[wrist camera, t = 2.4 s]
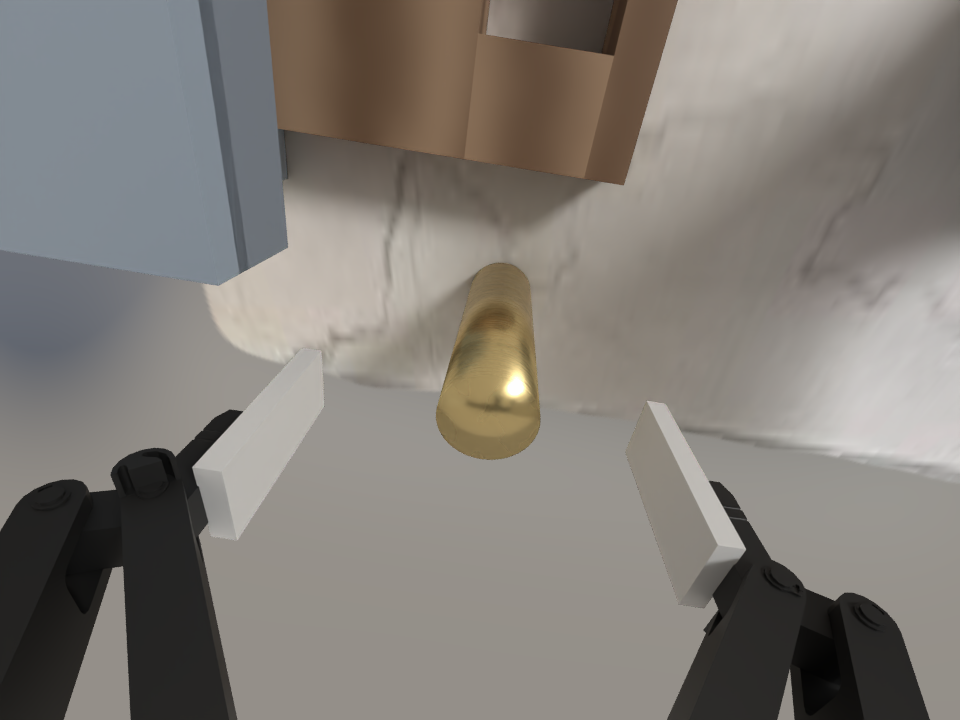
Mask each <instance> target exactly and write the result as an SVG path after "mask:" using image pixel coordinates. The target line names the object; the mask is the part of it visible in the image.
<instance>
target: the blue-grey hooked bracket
mask: <svg viewBox="0 0 960 720" xmlns="http://www.w3.org/2000/svg"><path fill="white" fill-rule="evenodd" d="M285 179H288V176H287V164H286V151H285V139H284V130H283V129H278V127H277V115H276V104H275V92H274V81H273V70H272V58H271V47H270V35H269V24H268V12H267V1H266V0H0V250H2V251H8V252H14V253H21V254H27V255H33V256H39V257H45V258H51V259H58V260H64V261H70V262H76V263H82V264H88V265H94V266H101V267H107V268H113V269H120V270H125V271H132V272H137V273H144V274H151V275H156V276H162V277H168V278H175V279H181V280H187V281H193V282H199V283H205V284H211V285H217V286H219V285H220V284H222V283H224V282H226V281H228V280H230V279H231V278H233V277H235V276H237V275H239V274H240V273H242V272H244V271H246V270H248V269H250V268H251V267H253V266H255V265H257V264H259V263H261V262H262V261H264V260H266V259H268V258H270V257H272V256H273V255H275V254H277V253H279V252H281V251H282V250H284V249H286V248H288V241H287V230H286V218H285V207H284V195H283V184H282V180H285Z"/></svg>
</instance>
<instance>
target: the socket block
mask: <svg viewBox="0 0 960 720" xmlns="http://www.w3.org/2000/svg"><path fill="white" fill-rule="evenodd" d="M266 1H267V12H268V24H269V35H270V47H271V58H272V70H273V81H274V92H275V104H276V115H277V127H278V129H283V130H289V131H295V132H301V133H308V134H314V135H320V136H326V137H332V138H338V139H344V140H350V141H356V142H363V143H369V144H375V145H381V146H387V147H393V148H399V149H405V150H411V151H417V152H424V153H430V154H436V155H442V156H448V157H454V158H460V159H466V160H472V161H479V162H485V163H491V164H497V165H503V166H509V167H515V168H521V169H527V170H533V171H540V172H546V173H552V174H558V175H564V176H570V177H576V178H582V179H588V180H595V181H601V182H607V183H613V184H619V185H624V183H625V179H626V176H627V173H628V169H629V166H630V162H631V159H632V155H633V152H634V149H635V145H636V142H637V138H638V135H639V131H640V128H641V125H642V121H643V118H644V114H645V111H646V107H647V104H648V101H649V97H650V94H651V90H652V87H653V84H654V80H655V77H656V73H657V70H658V66H659V63H660V60H661V56H662V53H663V49H664V46H665V42H666V39H667V36H668V32H669V29H670V25H671V22H672V19H673V15H674V12H675V8H676V5H677V1H678V0H614V3H613V7H612V12H611V16H610V20H609V24H608V29H607V33H606V37H605V42H604V46H603V50H602V54H600V53H594V52H588V51H582V50H576V49H570V48H563V47H557V46H551V45H545V44H539V43H533V42H527V41H521V40H515V39H509V38H503V37H497V36H491V35H486V30H487V21H488V13H489V5H490V0H266Z"/></svg>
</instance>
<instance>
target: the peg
mask: <svg viewBox="0 0 960 720" xmlns="http://www.w3.org/2000/svg"><path fill="white" fill-rule="evenodd" d="M436 421H437V425H438V428H439V431H440V432H441V435H442V436H443V437H444V439H445V440H446V441H447V442H448V443H449V444H450V445H451V446H452V447H453V448H455V449H456V450H458V451H459V452H462V453H463V454H466V455H468V456H471V457H474V458H479V459H487V460H493V459H494V460H495V459H502V458H507V457H510V456H513V455H515V454H518V453H519V452H521V451H523V450H524V449H525V448H527V447H528V446H529V445H530V444H531V443H532V442H533V440H534V439H535V437H536V435H537V433H538V430H539V428H540V406H539V394H538V381H537V368H536V355H535V342H534V330H533V317H532V304H531V291H530V284H529V281H528V279H527V277H526V276H525V274H524V273H523V272H522V271H521V270H520V269H518V268H517V267H515V266H513V265H511V264H507V263H494V264H490V265H488V266H486V267H484V268H483V269H481V270H480V271H479V272H478V273H477V274H476V276H475V277H474V279H473V282H472V285H471V288H470V292H469V296H468V299H467V303H466V306H465V310H464V313H463V317H462V320H461V324H460V327H459V331H458V335H457V338H456V342H455V345H454V349H453V352H452V356H451V359H450V363H449V367H448V370H447V374H446V377H445V381H444V384H443V388H442V391H441V395H440V399H439V402H438V406H437V410H436Z"/></svg>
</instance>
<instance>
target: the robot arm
mask: <svg viewBox="0 0 960 720" xmlns="http://www.w3.org/2000/svg"><path fill="white" fill-rule="evenodd" d="M323 390H324V389H323V371H322V352H321V351H320V350H314V349H307V348H301V350H300V351H299V352H298V353H297V354H296V355H295V356H294V357H293V358H292V359H291V360H290V362H289V363H288V364H287V365H286V366H285V367H284V368H283V369H282V370H281V371H280V372H279V373H278V375H277V376H276V377H275V378H274V379H273V380H272V381H271V382H270V383H269V385H268V386H267V387H266V388H265V389H264V390H263V391H262V392H261V393H260V394H259V395H258V397H256V398H255V400H254V401H253V402H252V403H251V404H250V405H249V406H248V407H247V408H246V409H245V411H244V412H243V411H237V410H228V411H226V412H225V413H223V414H221V415H219V416H217V417H215V418H214V419H213V420H212V421H211V422H210V423H209V424H208V425H207V426H206V427H205V428H204V430H203V431H201V432H200V433H199V434H198V435H197V436H196V437H195V439H194V440H192V441H191V442H190V443H189V444H188V445H187V446H186V447H185V448H184V449H183V450H182V451H181V452H180V453H179V454H178V455H177V456H176V457H175V456H174V454H173V453H172V452H171V451H169V450H166V449H161V448H151V449H145V450H141V451H138V452H135V453H133V454H130V455H128V456H127V457H125V458H123V459H122V460H120V461H119V462H118V463H117V464H116V465H115V466H114V467H113V469H112V472H111V478H112V480H113V482H114V485H115V487H116V490H110V491H99V492H89V490H88V488H87V486H86V485H85V484H84V483H83V482H81V481H78V480H74V479H73V480H60V481H56V482H52V483H48V484H46V485H43V486H41V487H39V488H37V489H34V490H33V491H31V492H30V493H28V494H27V495H25V496H24V497H23V498H22V499H21V500H20V501H19V502H18V503H17V505H16V506H15V508H14V509H13V511H12V513H11V515H10V516H9V518H8V519H7V521H6V523H5V524H4V526H3V528H2V529H1V531H0V720H64V717H65V713H66V711H67V707H68V704H69V701H70V698H71V695H72V692H73V689H74V686H75V682H76V679H77V677H78V673H79V670H80V667H81V664H82V661H83V658H84V655H85V652H86V649H87V646H88V642H89V639H90V636H91V633H92V630H93V627H94V624H95V621H96V617H97V614H98V611H99V608H100V605H101V602H102V599H103V596H104V592H105V590H106V587H107V584H108V580H109V577H110V574H111V571H112V568H114V567H121V566H123V569H124V591H125V609H126V610H125V612H126V632H127V653H128V673H129V694H130V713H131V720H237V716H236V711H235V706H234V701H233V697H232V692H231V687H230V682H229V677H228V673H227V668H226V663H225V658H224V654H223V649H222V645H221V639H220V634H219V630H218V625H217V620H216V615H215V610H214V606H213V601H212V596H211V591H210V587H209V582H208V577H207V573H206V568H205V563H204V558H203V553H202V549H201V543H200V540H199V536H198V535H199V534H200V533H201V531H202V530H203V529H204V527H205V526H206V525H207V524H208V527H209V531H210V535H211V537H217V538H224V539H231V540H238V538H239V537H240V535H241V534H242V532H243V531H244V529H245V528H246V526H247V524H248V523H249V522H250V520H251V518H252V517H253V515H254V514H255V512H256V511H257V509H258V508H259V506H260V505H261V503H262V502H263V500H264V498H265V497H266V495H267V494H268V492H269V491H270V489H271V488H272V486H273V485H274V483H275V482H276V480H277V478H278V477H279V476H280V474H281V472H282V471H283V469H284V468H285V466H286V465H287V463H288V462H289V460H290V459H291V457H292V455H293V454H294V452H295V451H296V449H297V448H298V446H299V445H300V443H301V442H302V440H303V439H304V437H305V436H306V434H307V432H308V431H309V429H310V428H311V426H312V425H313V423H314V422H315V420H316V418H317V417H318V416H319V414H320V412H321V411H322V409H323V408H324V391H323ZM626 455H627V458H628V461H629V464H630V467H631V470H632V473H633V475H634V478H635V481H636V484H637V487H638V490H639V492H640V495H641V498H642V501H643V504H644V507H645V510H646V512H647V515H648V518H649V521H650V524H651V527H652V530H653V532H654V535H655V538H656V541H657V544H658V547H659V549H660V552H661V555H662V558H663V561H664V564H665V567H666V569H667V572H668V575H669V578H670V581H671V583H672V587H673V589H674V592H675V595H676V598H677V601H678V604H679V605H684V606H691V607H698V608H705V606H706V605H707V604H708V602H709V601H710V600H711V598H712V597H713V598H714V600H715V602H716V604H717V607H718V609H719V610H718V611H717V612H716V614H715V615H714V616H713V618H712V619H711V620H710V622H709V623H708V624H707V626H706V627H705V629H704V631H705V632H706V635H705V637H704V639H703V641H702V643H701V646H700V648H699V650H698V652H697V655H696V657H695V659H694V661H693V663H692V665H691V668H690V670H689V672H688V675H687V677H686V679H685V681H684V683H683V685H682V688H681V690H680V692H679V694H678V697H677V699H676V701H675V703H674V705H673V708H672V710H671V712H670V714H669V716H668V719H667V720H777V718H778V714H779V710H780V706H781V702H782V698H783V694H784V690H785V686H786V682H787V678H788V673H789V669H790V672H791V684H792V695H793V706H794V718H795V720H930V719H929V716H928V713H927V710H926V707H925V704H924V701H923V697H922V695H921V691H920V688H919V686H918V682H917V679H916V676H915V673H914V670H913V668H912V664H911V661H910V658H909V655H908V652H907V649H906V646H905V643H904V640H903V637H902V634H901V632H900V630H899V628H898V626H897V624H896V623H895V621H893V619H892V618H891V617H890V616H889V615H888V613H887V612H885V611H884V610H883V609H882V608H880V607H879V606H878V605H877V604H875V603H874V602H872V601H871V600H869V599H867V598H865V597H863V596H861V595H857V594H855V593H844V594H842V595H841V596H840V597H839V598H838V599H837V600H836V601H834V600H831V599H829V598H827V597H824V596H822V595H819V594H817V593H814V592H812V591H810V590H807V589H805V588H804V586H803V584H802V582H801V581H800V580H799V579H798V578H797V576H795V574H794V573H793V572H791V571H790V570H789V569H787V568H786V567H785V566H783V565H781V564H779V563H777V562H775V561H773V560H771V558H770V556H769V555H768V553H767V551H766V550H765V548H764V546H763V545H762V543H761V542H760V540H759V538H758V536H757V535H756V533H755V531H754V530H753V528H752V526H751V525H750V523H749V522H748V521H747V518H746V516H745V515H744V513H743V511H741V510H740V507H739V505H738V503H737V501H736V500H735V498H734V496H733V495H732V494H731V493H730V492H729V491H728V490H727V489H726V488H725V487H724V486H723V485H722V484H721V483H720V482H713V481H708V479H707V478H706V476H705V474H704V472H703V471H702V469H701V467H700V465H699V463H698V461H697V460H696V458H695V456H694V454H693V453H692V451H691V449H690V447H689V445H688V443H687V442H686V440H685V438H684V436H683V434H682V433H681V431H680V429H679V427H678V425H677V423H676V422H675V420H674V418H673V416H672V414H671V413H670V411H669V409H668V407H667V405H666V404H665V403H659V402H652V401H646V404H645V406H644V408H643V411H642V413H641V416H640V418H639V420H638V423H637V425H636V428H635V430H634V432H633V435H632V437H631V440H630V442H629V444H628V447H627V449H626Z"/></svg>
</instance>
